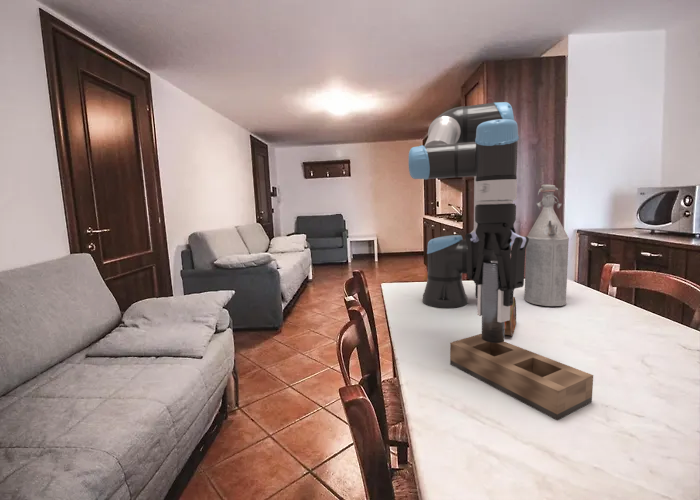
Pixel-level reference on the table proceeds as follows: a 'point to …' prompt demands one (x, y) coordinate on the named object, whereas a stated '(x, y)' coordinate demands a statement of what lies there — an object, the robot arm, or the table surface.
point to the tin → (511, 320)
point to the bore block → (524, 375)
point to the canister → (547, 255)
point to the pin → (491, 303)
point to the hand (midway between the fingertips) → (493, 317)
